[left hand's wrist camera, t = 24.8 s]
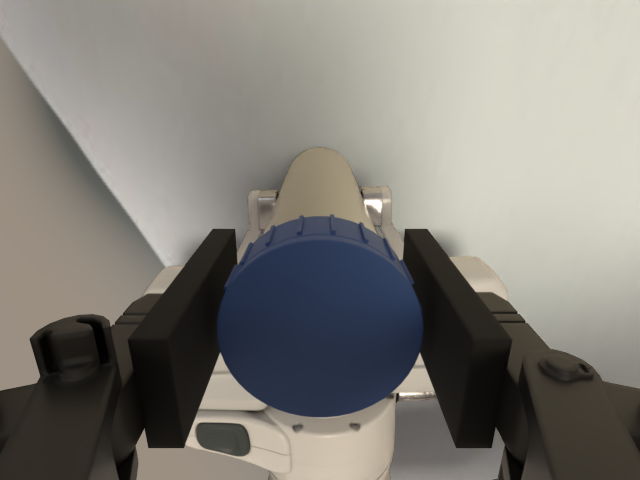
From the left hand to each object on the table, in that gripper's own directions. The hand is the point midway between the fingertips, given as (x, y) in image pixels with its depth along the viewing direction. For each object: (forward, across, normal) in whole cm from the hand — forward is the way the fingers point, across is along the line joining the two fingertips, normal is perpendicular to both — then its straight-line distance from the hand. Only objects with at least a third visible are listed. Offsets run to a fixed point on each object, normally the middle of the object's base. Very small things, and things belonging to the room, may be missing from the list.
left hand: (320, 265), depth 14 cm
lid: (-4, 0, 0) cm, 4 cm away
